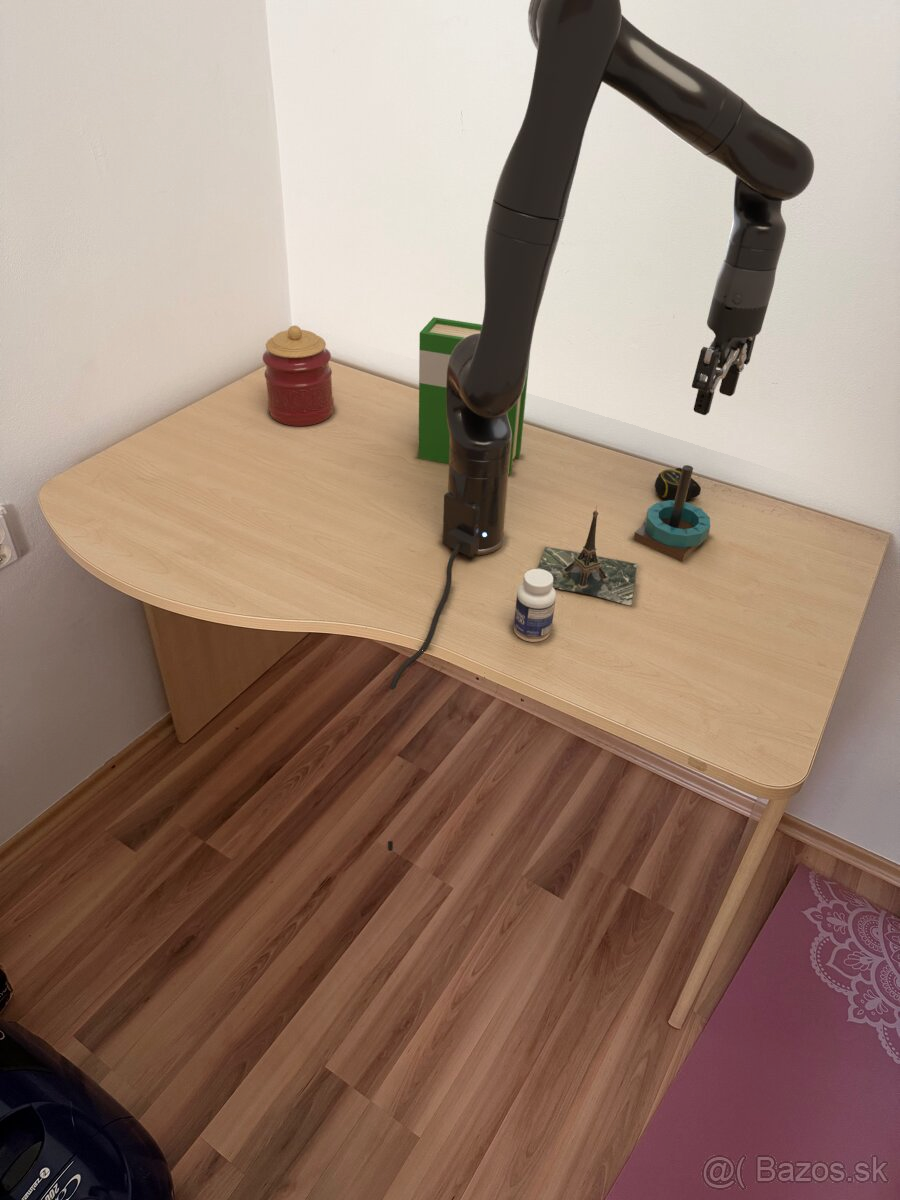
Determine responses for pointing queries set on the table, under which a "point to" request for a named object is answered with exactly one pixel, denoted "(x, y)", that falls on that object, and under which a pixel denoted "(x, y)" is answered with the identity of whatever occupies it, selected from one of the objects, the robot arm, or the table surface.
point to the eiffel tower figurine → (590, 571)
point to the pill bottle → (535, 606)
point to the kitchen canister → (298, 378)
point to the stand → (672, 521)
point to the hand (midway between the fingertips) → (713, 403)
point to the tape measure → (674, 485)
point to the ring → (677, 535)
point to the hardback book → (432, 390)
